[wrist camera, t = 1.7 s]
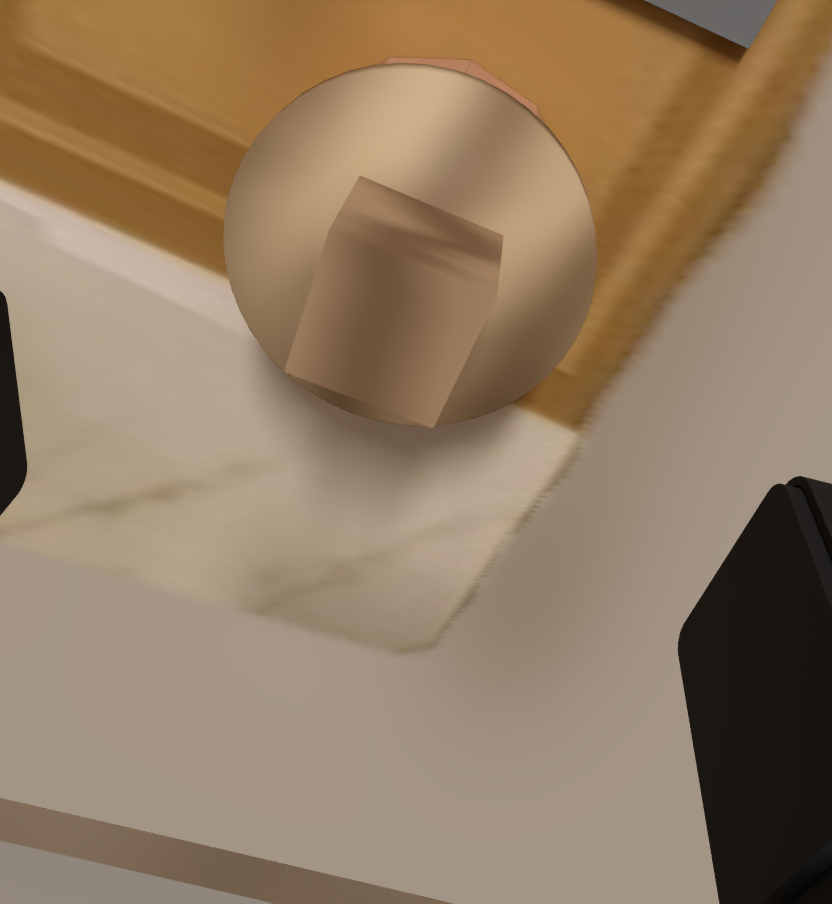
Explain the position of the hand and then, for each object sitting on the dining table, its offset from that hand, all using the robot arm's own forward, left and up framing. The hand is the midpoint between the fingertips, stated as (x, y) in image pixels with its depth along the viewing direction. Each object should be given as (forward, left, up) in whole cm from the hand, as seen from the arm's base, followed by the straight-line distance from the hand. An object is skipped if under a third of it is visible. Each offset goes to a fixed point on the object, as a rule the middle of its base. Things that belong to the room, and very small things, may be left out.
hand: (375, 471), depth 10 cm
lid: (-5, -4, -21) cm, 22 cm away
